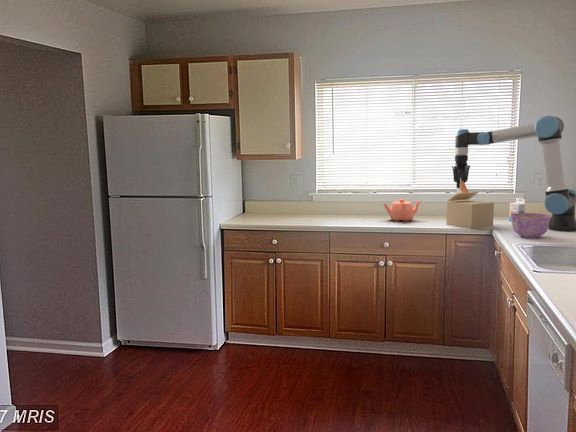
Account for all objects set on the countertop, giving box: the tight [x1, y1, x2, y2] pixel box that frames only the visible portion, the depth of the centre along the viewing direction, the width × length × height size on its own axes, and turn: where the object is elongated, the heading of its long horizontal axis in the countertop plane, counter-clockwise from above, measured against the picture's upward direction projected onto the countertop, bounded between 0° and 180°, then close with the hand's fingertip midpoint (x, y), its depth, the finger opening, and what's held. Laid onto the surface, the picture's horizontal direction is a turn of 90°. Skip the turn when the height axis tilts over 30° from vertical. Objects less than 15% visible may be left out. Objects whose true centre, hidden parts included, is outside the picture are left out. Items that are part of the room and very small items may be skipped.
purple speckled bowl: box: [510, 212, 552, 239], centre depth 288 cm, size 20×20×12 cm
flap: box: [446, 180, 479, 202], centre depth 334 cm, size 10×18×8 cm
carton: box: [445, 199, 495, 230], centre depth 328 cm, size 20×18×14 cm
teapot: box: [383, 198, 422, 223], centre depth 351 cm, size 18×18×14 cm
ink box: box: [508, 197, 526, 222], centre depth 342 cm, size 8×5×15 cm, turn 17°
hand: (460, 193), depth 334 cm, fingers closed on flap, 2 cm apart
